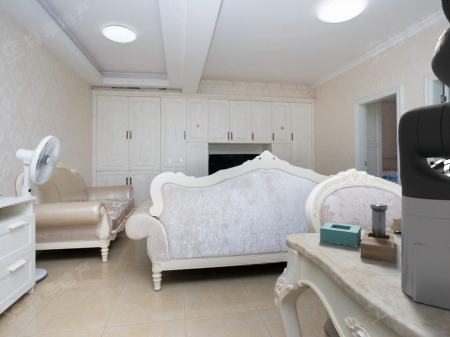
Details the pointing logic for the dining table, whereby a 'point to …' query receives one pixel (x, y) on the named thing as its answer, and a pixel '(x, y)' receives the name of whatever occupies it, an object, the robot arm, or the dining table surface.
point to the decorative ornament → (396, 224)
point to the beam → (378, 246)
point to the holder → (340, 233)
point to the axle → (378, 220)
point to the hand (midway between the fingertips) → (423, 190)
